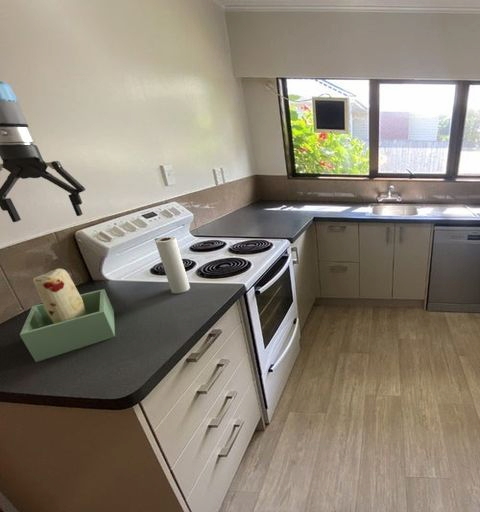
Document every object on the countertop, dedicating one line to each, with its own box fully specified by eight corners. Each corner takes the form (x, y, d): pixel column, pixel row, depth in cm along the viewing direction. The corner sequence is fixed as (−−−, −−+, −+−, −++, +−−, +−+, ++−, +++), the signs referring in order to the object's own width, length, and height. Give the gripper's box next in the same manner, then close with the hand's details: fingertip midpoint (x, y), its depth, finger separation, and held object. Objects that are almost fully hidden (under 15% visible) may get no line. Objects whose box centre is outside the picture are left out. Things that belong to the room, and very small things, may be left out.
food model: (83, 338, 84) (53, 277, 77) (53, 343, 82) (19, 281, 74) (98, 320, 93) (73, 263, 85) (71, 324, 90) (42, 267, 83)
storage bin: (45, 330, 89) (32, 306, 86) (114, 311, 99) (104, 288, 95) (35, 362, 77) (19, 334, 73) (114, 336, 86) (103, 311, 83)
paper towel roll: (191, 290, 113) (176, 239, 104) (173, 295, 109) (156, 242, 101) (188, 284, 118) (173, 234, 109) (170, 288, 114) (154, 237, 106)
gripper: (-66, 144, 71) (-20, 226, 79) (73, 143, 83) (100, 215, 91) (-46, 144, 77) (-5, 220, 85) (80, 143, 89) (106, 210, 97)
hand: (49, 218), depth 88 cm, fingers open, 13 cm apart
